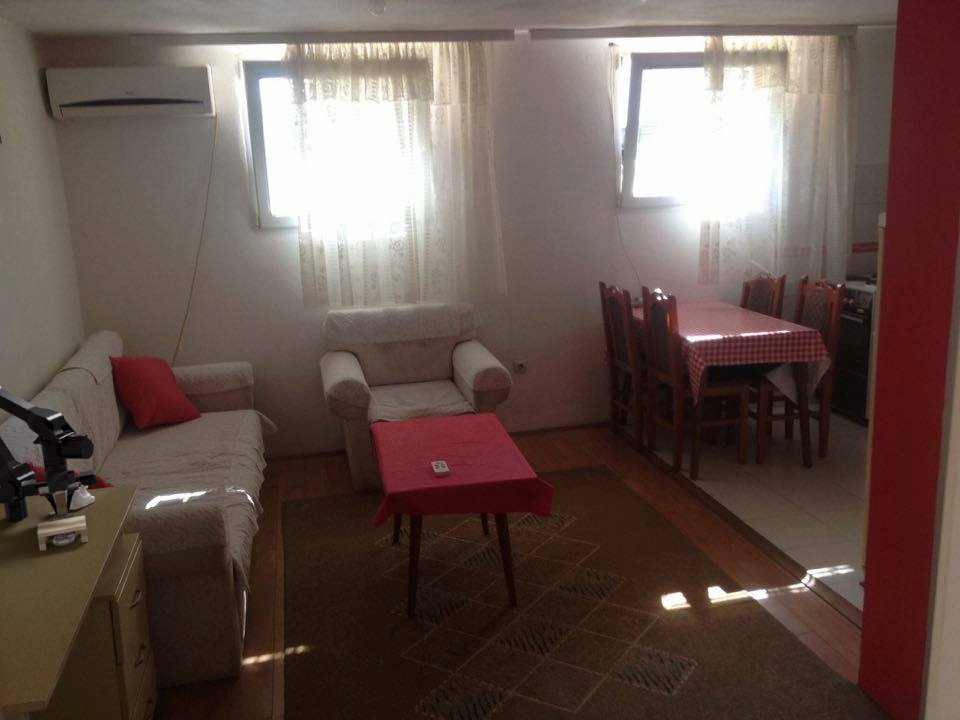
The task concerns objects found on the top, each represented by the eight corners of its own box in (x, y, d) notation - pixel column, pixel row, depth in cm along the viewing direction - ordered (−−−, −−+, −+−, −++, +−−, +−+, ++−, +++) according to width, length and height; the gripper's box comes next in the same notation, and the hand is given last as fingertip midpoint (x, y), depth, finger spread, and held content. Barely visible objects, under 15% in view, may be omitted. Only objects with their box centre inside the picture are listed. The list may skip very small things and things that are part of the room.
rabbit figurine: (49, 515, 234) (44, 482, 233) (48, 507, 241) (44, 475, 239) (96, 506, 240) (91, 474, 238) (94, 499, 246) (90, 467, 245)
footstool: (40, 540, 216) (37, 523, 215) (87, 531, 221) (84, 515, 220) (40, 551, 209) (37, 534, 208) (88, 541, 214) (85, 525, 213)
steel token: (53, 541, 216) (52, 536, 216) (74, 537, 218) (74, 531, 218) (53, 548, 211) (52, 542, 211) (75, 543, 214) (74, 538, 213)
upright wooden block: (52, 517, 232) (49, 493, 231) (73, 513, 234) (70, 490, 233) (53, 536, 218) (49, 511, 217) (75, 532, 220) (71, 507, 219)
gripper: (15, 472, 217) (23, 529, 220) (93, 460, 226) (101, 514, 228) (16, 461, 227) (24, 516, 230) (91, 450, 235) (98, 502, 238)
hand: (62, 512), depth 231 cm, fingers closed on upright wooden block, 2 cm apart
